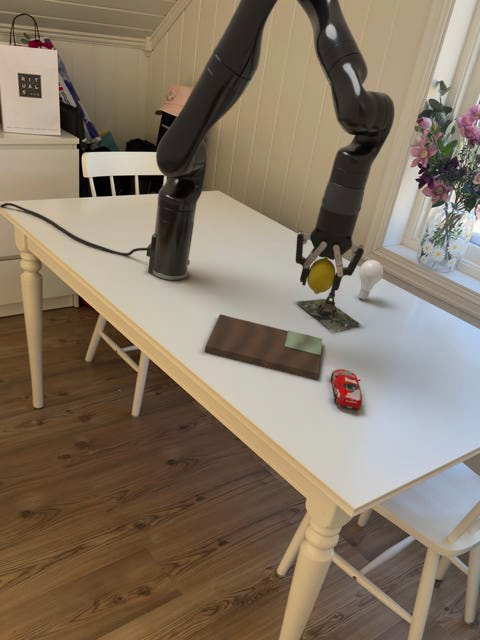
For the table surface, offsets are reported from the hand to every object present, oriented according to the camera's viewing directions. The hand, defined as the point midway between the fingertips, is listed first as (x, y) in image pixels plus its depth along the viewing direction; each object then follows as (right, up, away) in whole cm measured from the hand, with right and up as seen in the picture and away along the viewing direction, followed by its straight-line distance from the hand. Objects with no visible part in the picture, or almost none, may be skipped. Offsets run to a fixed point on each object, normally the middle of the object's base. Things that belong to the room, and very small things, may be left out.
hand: (318, 287), depth 126 cm
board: (-11, -12, +5) cm, 17 cm away
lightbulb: (+17, +5, +38) cm, 42 cm away
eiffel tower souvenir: (+6, -1, +25) cm, 26 cm away
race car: (+5, -23, -4) cm, 24 cm away
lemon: (0, -1, +1) cm, 2 cm away
